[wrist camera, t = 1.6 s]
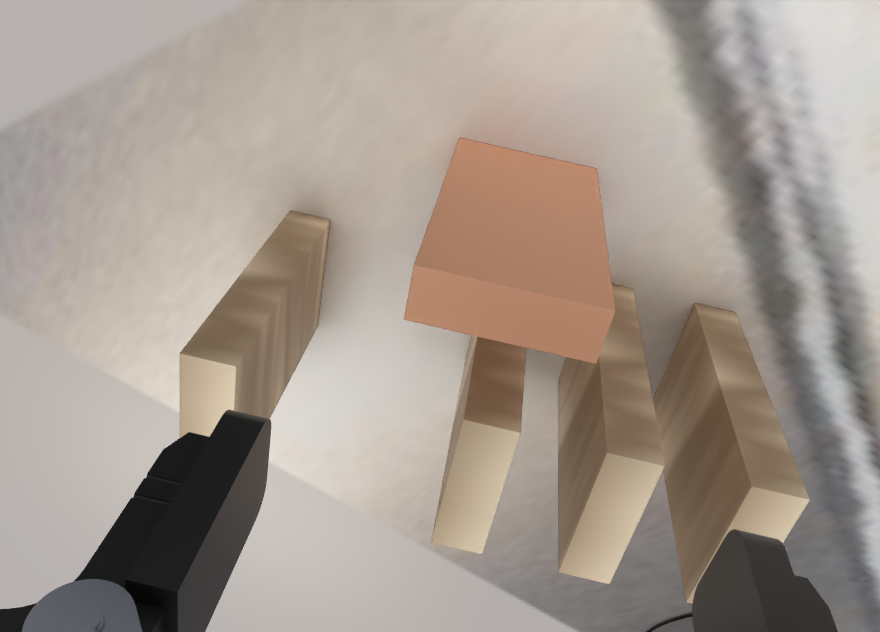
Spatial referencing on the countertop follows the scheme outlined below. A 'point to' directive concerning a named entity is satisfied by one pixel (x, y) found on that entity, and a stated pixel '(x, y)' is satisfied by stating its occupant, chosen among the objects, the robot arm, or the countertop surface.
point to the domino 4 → (605, 448)
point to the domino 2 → (516, 254)
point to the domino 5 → (721, 445)
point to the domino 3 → (480, 443)
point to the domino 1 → (256, 329)
